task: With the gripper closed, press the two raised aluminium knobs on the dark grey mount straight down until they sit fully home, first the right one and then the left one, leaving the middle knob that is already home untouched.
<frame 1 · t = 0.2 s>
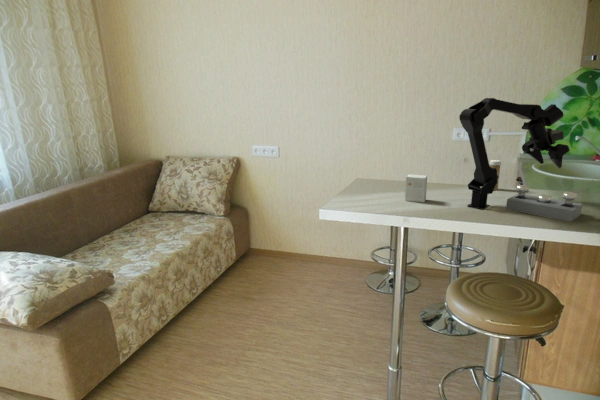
hand: (551, 165, 164), 15 cm above the breakfast bar, tool tilted 30°, fingers open, 9 cm apart
small box: (415, 200, 172), on the breakfast bar
sprinkles bottle: (492, 189, 188), on the breakfast bar
knob left: (522, 192, 158), point 6 cm above the breakfast bar, slide at 2.5 cm
knob middle: (543, 202, 153), point 4 cm above the breakfast bar, slide at 0.0 cm
mount: (542, 211, 154), on the breakfast bar
knob right: (569, 199, 147), point 6 cm above the breakfast bar, slide at 2.5 cm
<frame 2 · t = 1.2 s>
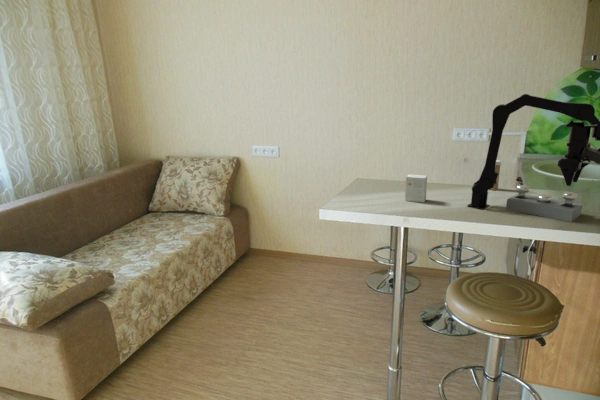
hand: (571, 183, 145), 12 cm above the breakfast bar, tool pointing down, fingers open, 7 cm apart
nothing on the breakfast bar moved.
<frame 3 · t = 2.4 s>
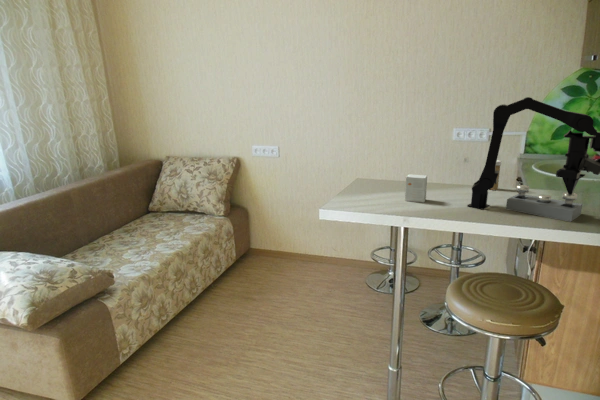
hand: (570, 193, 146), 8 cm above the breakfast bar, tool pointing down, fingers closed, pressing on knob right
knob right: (569, 200, 147), point 6 cm above the breakfast bar, slide at 2.4 cm, touching gripper
everything else where it was.
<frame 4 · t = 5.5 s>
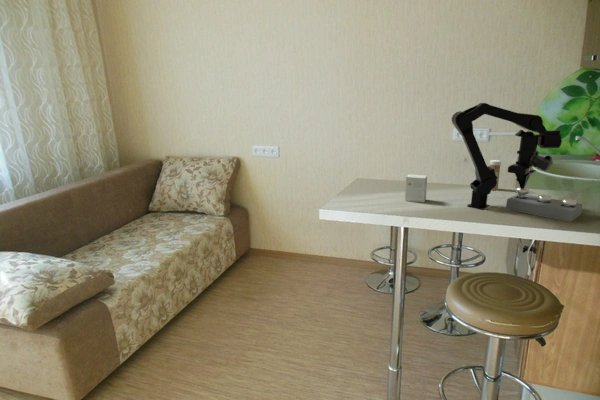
hand: (522, 188, 158), 8 cm above the breakfast bar, tool pointing down, fingers closed, pressing on knob left
knob left: (521, 194, 158), point 5 cm above the breakfast bar, slide at 1.7 cm, touching gripper
knob right: (568, 206, 147), point 4 cm above the breakfast bar, slide at -0.1 cm
everything else where it was.
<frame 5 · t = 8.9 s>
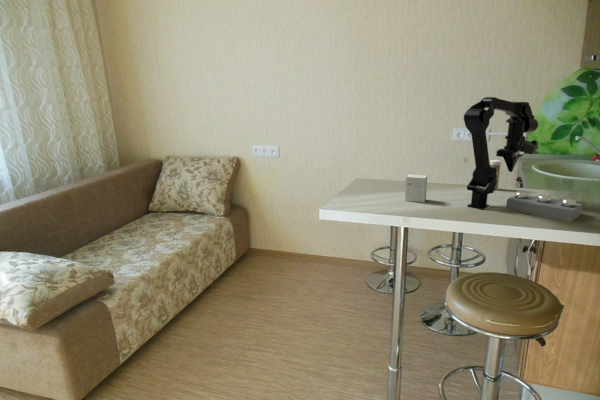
hand: (510, 171, 167), 12 cm above the breakfast bar, tool pointing down, fingers closed
knob left: (521, 198, 159), point 4 cm above the breakfast bar, slide at -0.1 cm
everything else where it was.
at the end: knob right slide at -0.1 cm; knob left slide at -0.1 cm; knob middle slide at 0.0 cm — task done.
